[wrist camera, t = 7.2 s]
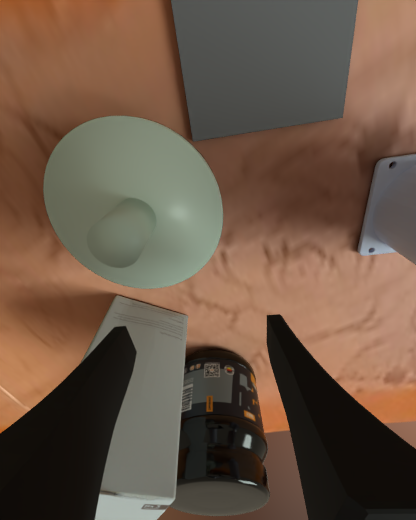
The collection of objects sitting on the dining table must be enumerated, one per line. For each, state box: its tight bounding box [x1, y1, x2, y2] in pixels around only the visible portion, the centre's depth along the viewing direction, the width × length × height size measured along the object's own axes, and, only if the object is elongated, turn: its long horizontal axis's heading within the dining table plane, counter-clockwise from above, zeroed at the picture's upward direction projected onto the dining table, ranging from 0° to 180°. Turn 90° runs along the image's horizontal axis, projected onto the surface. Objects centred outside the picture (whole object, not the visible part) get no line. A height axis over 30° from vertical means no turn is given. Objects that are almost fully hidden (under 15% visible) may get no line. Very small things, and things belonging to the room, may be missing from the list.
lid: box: [43, 116, 223, 289], centre depth 13 cm, size 11×11×4 cm
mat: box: [171, 0, 358, 142], centre depth 13 cm, size 10×12×1 cm
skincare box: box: [80, 295, 188, 520], centre depth 19 cm, size 8×6×15 cm
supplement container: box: [169, 350, 270, 516], centre depth 25 cm, size 10×10×12 cm
